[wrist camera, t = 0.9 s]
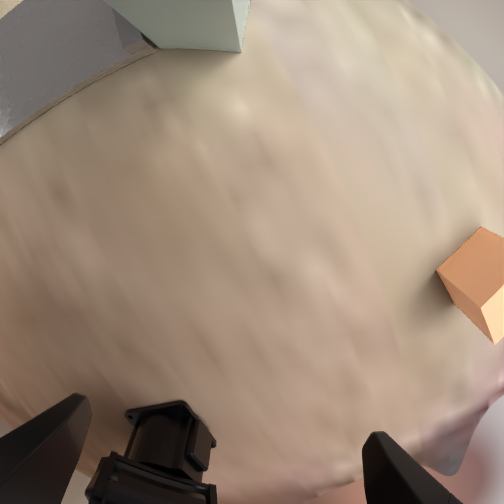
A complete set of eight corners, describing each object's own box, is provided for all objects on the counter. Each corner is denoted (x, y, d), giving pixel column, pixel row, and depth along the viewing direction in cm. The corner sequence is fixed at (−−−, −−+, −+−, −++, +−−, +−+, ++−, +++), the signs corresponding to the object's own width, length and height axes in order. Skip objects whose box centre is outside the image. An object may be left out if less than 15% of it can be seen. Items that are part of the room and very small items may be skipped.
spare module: (454, 303, 22) (494, 344, 16) (435, 269, 21) (480, 307, 15) (495, 263, 20) (541, 295, 15) (480, 226, 19) (531, 253, 14)
